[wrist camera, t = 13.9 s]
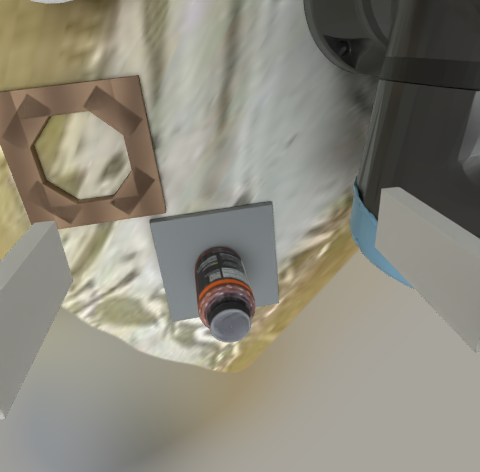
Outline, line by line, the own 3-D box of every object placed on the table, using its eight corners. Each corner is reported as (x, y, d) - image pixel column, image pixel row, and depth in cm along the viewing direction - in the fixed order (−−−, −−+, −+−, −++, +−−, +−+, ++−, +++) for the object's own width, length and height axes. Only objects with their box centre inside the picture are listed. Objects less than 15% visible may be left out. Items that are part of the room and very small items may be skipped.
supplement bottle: (222, 295, 48) (234, 360, 38) (184, 272, 46) (185, 335, 36) (253, 261, 46) (273, 320, 36) (215, 236, 44) (225, 291, 34)
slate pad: (270, 201, 44) (272, 204, 43) (277, 298, 51) (279, 303, 50) (150, 219, 43) (149, 223, 42) (172, 316, 49) (172, 321, 49)
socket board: (138, 75, 36) (137, 76, 35) (166, 208, 43) (165, 213, 42) (-14, 93, 35) (-19, 94, 34) (38, 228, 42) (34, 232, 41)
